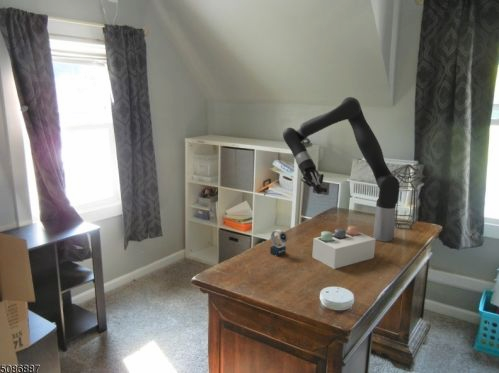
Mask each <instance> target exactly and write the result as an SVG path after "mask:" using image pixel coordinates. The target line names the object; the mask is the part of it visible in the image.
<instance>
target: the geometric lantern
mask: <svg viewBox="0 0 499 373" xmlns="http://www.w3.org/2000/svg"><path fill="white" fill-rule="evenodd" d="M410 170H412V171H413V172H411V171H410ZM402 171H403V172H402ZM390 172H391V173H392V175H393V176H394V177H396V178H397V179H398V180H400V181H399V189H400V188H401V187H403V188H412V189H403V191H407V192H411V198H410V204H409V205H410V206H409V207H410V208H409V214H398V204H399V200H398V201H397V203H396V208H395V218H394V221H395V228H396V229H400V227H399V226H401V225H402V226H409V228H408V227H401V229H405V230H412V228H413V225H415V223H416V222H418V195H419V194H418V193H419V189H418V186H419V184H420V183H421V182H422V181H423V179H424V178H426V176H425V175H423V174H422V173H421V172H420V171H418V170H417V169H416V168H415V167H414V166H413V165H412V164H404V165H402V166H400V167H398V168H395V169H394V170H392V171H391V170H390ZM407 172H408V173H407ZM401 174H403V175H401ZM416 174H417V175H418V176H415V177H414V175H416ZM412 179H413V180H412ZM406 180H407V181H406ZM414 181H418V182H417V184H416V185H415V186H414V184H413V182H414ZM401 182H403V183H401ZM400 184H401V185H400ZM404 184H410V185H411V186H409V185H404ZM412 204H413V206H412ZM412 209H413V210H412ZM411 213H412V215H411ZM398 216H399V217H408V218H407V219H406V220H401V219H397V218H398ZM410 217H411V219H410ZM400 222H401V223H400Z"/></svg>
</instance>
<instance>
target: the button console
mask: <svg viewBox="0 0 499 373" xmlns="http://www.w3.org/2000/svg"><path fill="white" fill-rule="evenodd" d="M312 240H313V243H312V254H311V255H312V258H313V259H315V260H317V261H318V262H320V263H323V264H324V265H325V266H328V267H330V268H331V269H333V270H336V269H339V268H343V267H346V266H349V265H353V264H357V263H360V262H364V261H367V260H368V261H369V260H371V259H374V258H375V248H376V241H377V240H376V239H374V238H373V236H372V237H371V236H369V235H367V234H364V233H362V232H359V233H358V236H354V237H352V236H350V235H347V230H346V238H345V239H341V240H339V239H337V238H335V237H334V233H333V237H332V242H328V243H325V242H323V241H321V236H318V237H314V238H313V239H312Z"/></svg>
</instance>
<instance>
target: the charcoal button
mask: <svg viewBox="0 0 499 373" xmlns="http://www.w3.org/2000/svg"><path fill="white" fill-rule="evenodd" d="M346 231H347V229H345V228H338V227H337V228H335V229H334V233H333V234H334V237H335V238H337V239H339V240H341V239H345V238H346Z"/></svg>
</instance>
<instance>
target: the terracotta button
mask: <svg viewBox="0 0 499 373" xmlns="http://www.w3.org/2000/svg"><path fill="white" fill-rule="evenodd" d="M346 231H347V235H350V236H352V237H354V236H358V233H359V231H360V227H359V226H356V225H348V226H347V229H346Z"/></svg>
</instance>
